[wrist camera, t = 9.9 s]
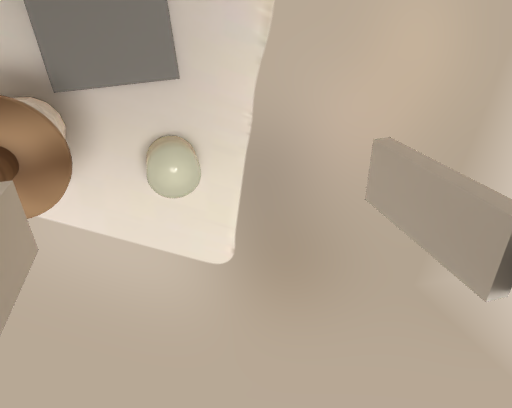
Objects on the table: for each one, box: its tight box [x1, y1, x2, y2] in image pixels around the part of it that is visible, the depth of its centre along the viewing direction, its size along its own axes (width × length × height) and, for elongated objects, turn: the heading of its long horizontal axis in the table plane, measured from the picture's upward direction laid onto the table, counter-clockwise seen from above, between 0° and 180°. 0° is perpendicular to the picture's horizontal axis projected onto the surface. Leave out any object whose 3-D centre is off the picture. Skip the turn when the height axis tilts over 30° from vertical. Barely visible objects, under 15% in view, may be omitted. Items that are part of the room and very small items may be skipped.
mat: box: [24, 0, 180, 93], centre depth 36 cm, size 13×13×1 cm
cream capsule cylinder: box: [146, 136, 201, 198], centre depth 43 cm, size 6×6×5 cm
